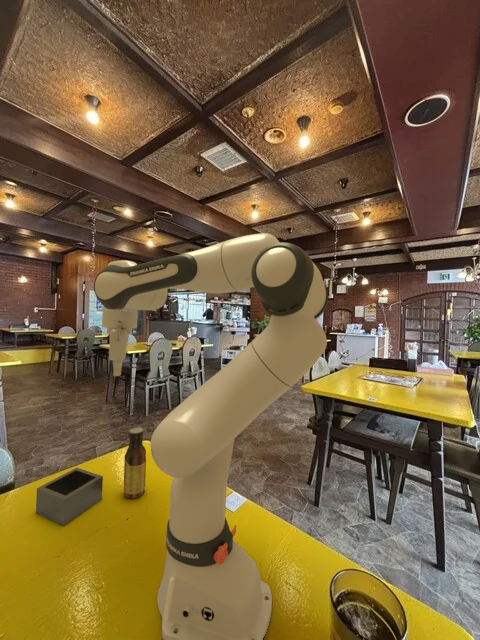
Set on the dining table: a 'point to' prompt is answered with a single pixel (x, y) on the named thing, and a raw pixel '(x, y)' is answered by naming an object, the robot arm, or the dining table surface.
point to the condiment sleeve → (69, 495)
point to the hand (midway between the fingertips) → (118, 371)
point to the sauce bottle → (135, 465)
